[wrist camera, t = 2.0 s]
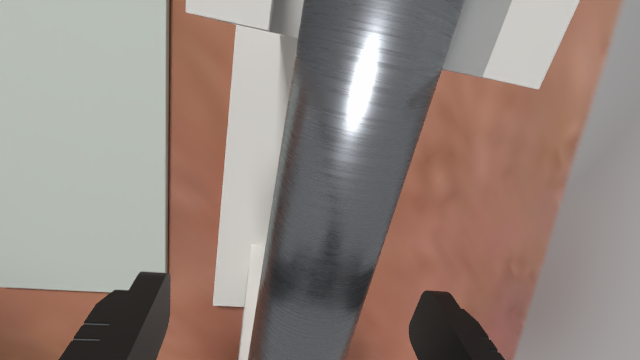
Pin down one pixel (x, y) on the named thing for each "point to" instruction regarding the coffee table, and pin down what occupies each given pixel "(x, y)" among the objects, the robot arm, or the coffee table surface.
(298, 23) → the rack
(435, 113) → the coffee table surface
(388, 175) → the rail
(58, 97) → the mat
